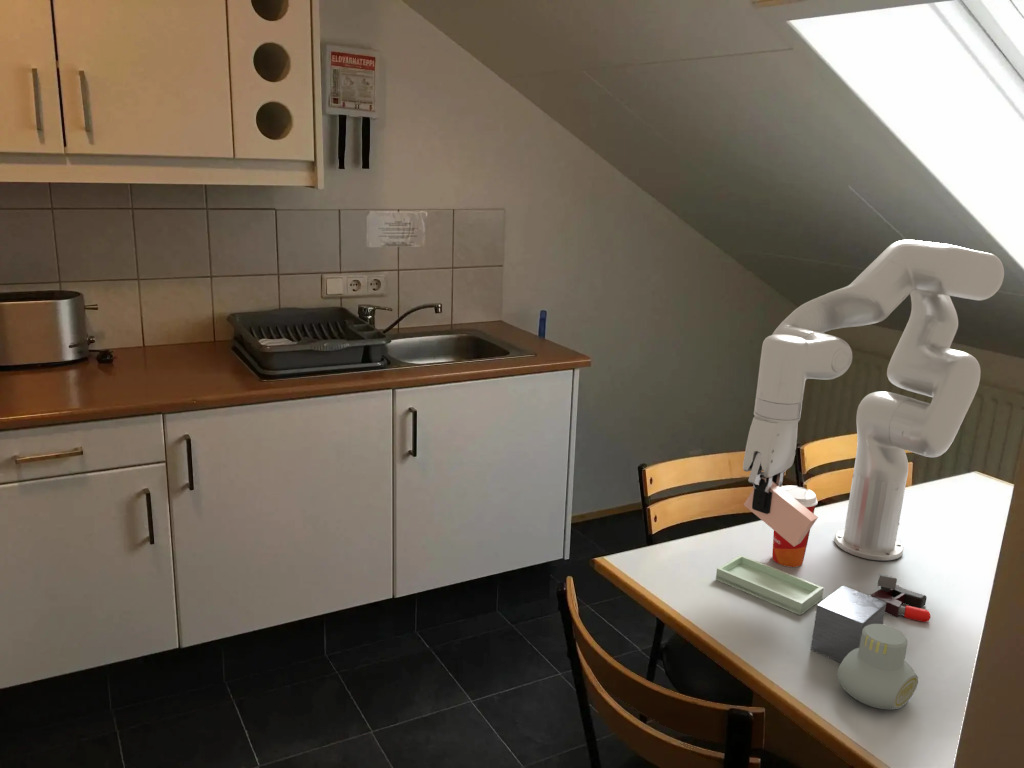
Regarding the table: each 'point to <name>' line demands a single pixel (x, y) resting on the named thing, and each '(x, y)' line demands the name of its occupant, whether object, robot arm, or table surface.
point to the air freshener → (879, 669)
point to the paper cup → (781, 547)
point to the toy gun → (901, 600)
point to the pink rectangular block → (785, 515)
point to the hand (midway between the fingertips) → (764, 508)
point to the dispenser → (844, 622)
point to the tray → (770, 584)
